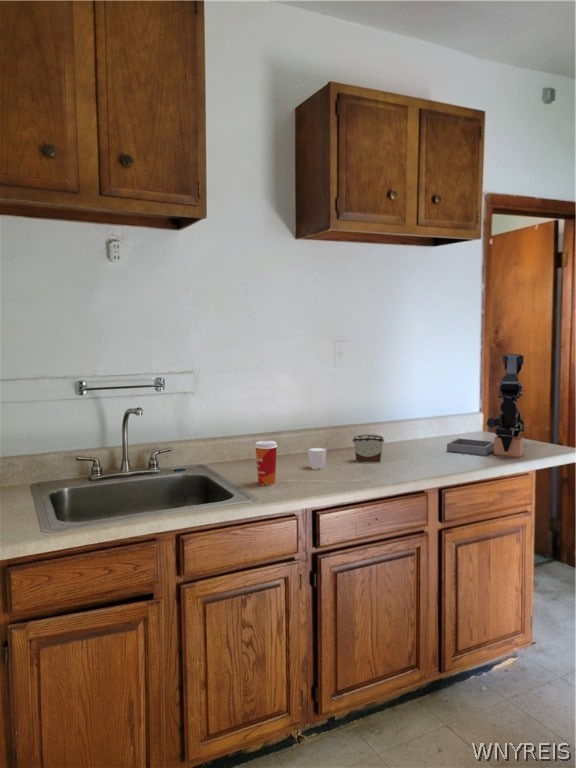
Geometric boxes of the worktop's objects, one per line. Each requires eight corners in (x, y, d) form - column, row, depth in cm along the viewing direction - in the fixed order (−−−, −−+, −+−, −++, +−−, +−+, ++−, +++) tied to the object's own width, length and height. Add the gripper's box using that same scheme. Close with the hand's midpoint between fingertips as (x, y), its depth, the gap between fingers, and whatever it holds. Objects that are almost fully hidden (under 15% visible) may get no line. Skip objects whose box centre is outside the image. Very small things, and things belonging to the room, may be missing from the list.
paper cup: (255, 480, 197) (254, 440, 196) (277, 480, 198) (276, 440, 197) (255, 487, 189) (254, 445, 188) (278, 486, 190) (278, 444, 189)
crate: (457, 446, 251) (457, 438, 250) (495, 450, 242) (495, 441, 241) (446, 452, 239) (447, 443, 239) (486, 456, 230) (486, 447, 230)
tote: (497, 452, 237) (498, 435, 237) (523, 454, 232) (523, 437, 231) (493, 454, 232) (494, 437, 232) (520, 457, 227) (520, 440, 226)
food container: (383, 459, 228) (383, 434, 227) (384, 462, 222) (384, 437, 221) (352, 458, 229) (351, 434, 228) (352, 462, 223) (352, 436, 222)
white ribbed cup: (328, 466, 217) (328, 448, 216) (323, 470, 211) (323, 451, 210) (311, 465, 219) (311, 447, 219) (306, 469, 213) (305, 450, 212)
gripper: (495, 407, 243) (494, 443, 244) (482, 412, 227) (481, 451, 229) (522, 409, 236) (522, 446, 238) (512, 414, 221) (511, 454, 222)
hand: (508, 449), depth 232 cm, fingers open, 9 cm apart
